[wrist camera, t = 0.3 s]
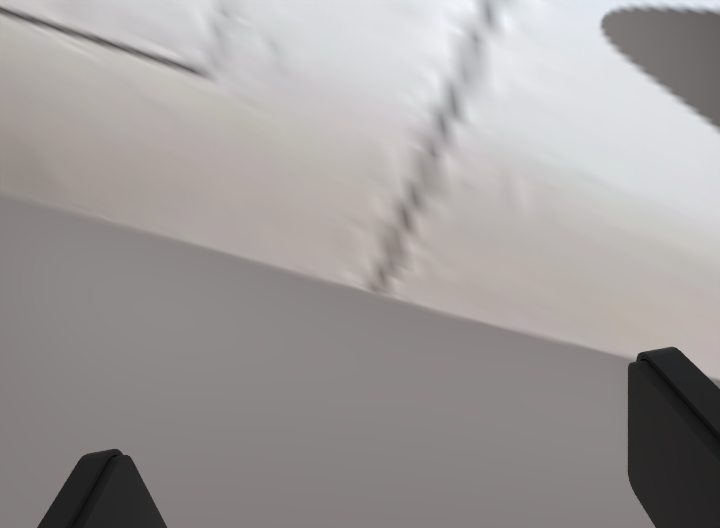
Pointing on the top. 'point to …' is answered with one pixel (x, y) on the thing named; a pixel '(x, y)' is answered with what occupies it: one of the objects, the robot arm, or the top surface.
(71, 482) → the robot arm
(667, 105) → the top surface
